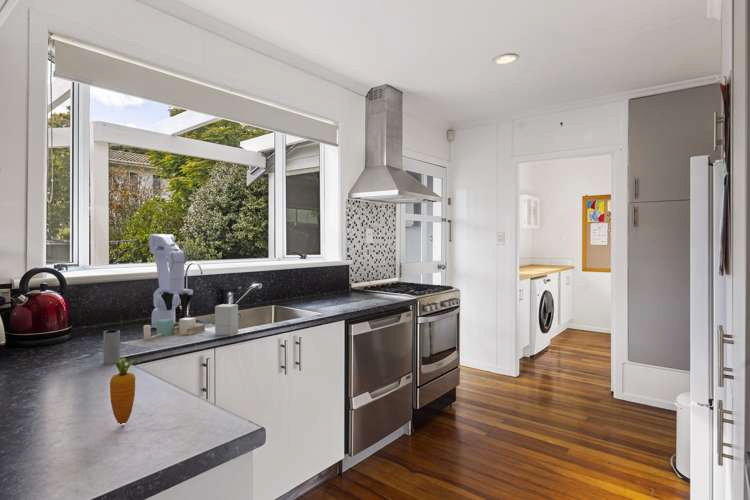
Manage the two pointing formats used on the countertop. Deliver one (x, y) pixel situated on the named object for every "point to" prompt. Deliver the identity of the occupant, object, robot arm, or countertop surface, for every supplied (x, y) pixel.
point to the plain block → (186, 324)
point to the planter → (111, 346)
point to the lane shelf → (189, 329)
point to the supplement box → (226, 319)
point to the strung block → (159, 329)
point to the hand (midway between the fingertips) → (176, 310)
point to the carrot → (122, 391)
